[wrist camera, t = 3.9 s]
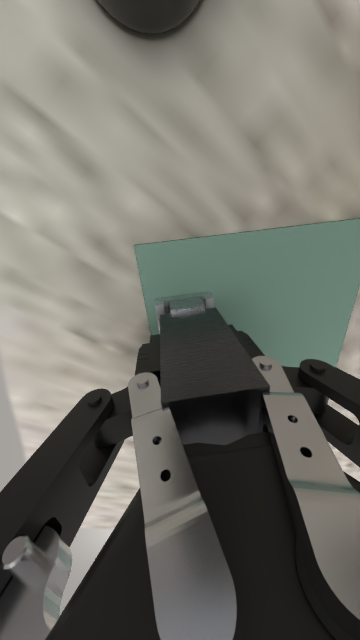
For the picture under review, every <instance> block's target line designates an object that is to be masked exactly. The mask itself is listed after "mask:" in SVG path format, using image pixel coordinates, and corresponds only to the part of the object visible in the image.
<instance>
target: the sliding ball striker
mask: <svg viewBox="0 0 360 640" xmlns="http://www.w3.org/2000/svg"><path fill="white" fill-rule="evenodd" d="M169 304H170V311H171V313H170V314H162V315H160V378H161V406H162V408H164V407H167V406H168V407H169V409H170V411H171V414H172V417H173V420H174V423H175V425H176V428H177V431H178V434H179V437H180V439H181V442H182V445H185V444H192V443H207V444H217V445H227V444H230V443H232V442H234V441H236V440H238V439H240V438H243V437H245V436H247V435H249V434H254V433H257V432H258V422H259V412H260V402H261V392H270V385H269V384H268V382H267V381H266V379H265V378H264V376H263V375H262V374H261V372H260V371H259V369H258V368H257V366H256V365H255V363H254V362H253V361H252V359H251V358H250V356H249V355H248V353H247V352H246V350H245V349H244V348H243V346H242V345H241V343H240V342H239V340H238V339H237V337H236V336H235V334H234V333H233V332H232V330H231V329H230V327H229V326H228V324H227V323H226V321H225V320H224V319H223V317H222V316H221V314H220V313H219V311H218V310H217V308H216V307H215V308H207V309H205V305H204V304H203V302H202V300H201V298H200V296H194V297H187V298H179V299H172V300H169Z"/></svg>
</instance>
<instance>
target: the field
mask: <svg viewBox="0 0 360 640" xmlns="http://www.w3.org/2000/svg"><path fill="white" fill-rule="evenodd" d="M134 248H135V253H136V259H137V264H138V269H139V274H140V279H141V285H142V290H143V295H144V300H145V306H146V311H147V316H148V321H149V326H150V332H151V335H155V334H160V333H159V327H158V322H157V316H156V310H155V304H154V299H155V298H161V297H168V296H176V295H184V294H191V293H199V292H207V291H210V292H211V293H212V295H213V298H214V308H215V307H216V308H217V310H218V311H219V313H220V314H221V316H222V317H223V319H224V320H225V321H226V323H227V324H228V325H230V324H232V325H233V326H234V328H235V329H236V330H237V331H243V332H245V333H246V334H248V335H249V336H250V338H251V339H252V340H253V341H254V343H255V344H256V345H257V346H258V348H259V349H260V350H261V351H262V352H263V354H264V355H265V356H268V357H272V358H274V359H276V360H277V361H278V362H279V363H280V364H281V366H286V367H299V366H300V362H301V361H303V360H305V359H317V360H321V361H324V362H326V363H328V364H330V365H332V366H334V367H336V365H337V362H338V358H339V355H340V351H341V348H342V344H343V341H344V338H345V334H346V331H347V327H348V324H349V320H350V317H351V313H352V310H353V307H354V303H355V300H356V296H357V293H358V289H359V286H360V218H358V219H350V220H341V221H333V222H325V223H316V224H308V225H299V226H291V227H283V228H274V229H266V230H257V231H249V232H241V233H232V234H224V235H215V236H207V237H198V238H190V239H182V240H173V241H165V242H156V243H148V244H140V245H134Z"/></svg>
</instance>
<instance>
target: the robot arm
mask: <svg viewBox="0 0 360 640" xmlns="http://www.w3.org/2000/svg"><path fill="white" fill-rule="evenodd" d="M228 326H229V327H230V329H231V330H232V332H233V333H234V334H235V336H236V337H237V339H238V340H239V342H240V343H241V345H242V346H243V348H244V349H245V350H246V352H247V353H248V355H249V356H250V358H251V359H252V361H253V362H254V363H255V365H256V366H257V368H258V369H259V371H260V372H261V374H262V375H263V376H264V378H265V379H266V381H267V382H268V384H269V385H270V392H261V402H260V412H259V422H258V432H257V433H254V434H249V435H247V436H245V437H243V438H240V439H238V440H236V441H234V442H232V443H230V444H227V445H217V444H207V443H192V444H185V445H182V442H181V439H180V437H179V434H178V431H177V428H176V425H175V423H174V420H173V417H172V414H171V411H170V409H169V407H168V406H167V407H164V408H162V406H161V378H160V334H155V335H151V336H150V343H147V344H143V345H142V346H141V347H140V349H139V352H138V358H137V365H136V371H135V376H134V377H133V378H131V380H130V381H129V383H128V387H127V388H125V389H123V390H121V391H119V392H116V393H113V394H111V393H110V392H109V391H108V390H106V389H96V390H93V391H91V392H89V393H87V394H86V395H85V396H84V397H83V398H82V399H81V400H80V401H79V402H78V403H77V404H76V406H75V407H74V408H73V409H72V410H71V411H70V412H69V414H68V415H67V416H66V417H65V418H64V419H63V421H62V422H61V423H60V424H59V425H58V426H57V427H56V429H55V430H54V431H53V432H52V433H51V434H50V436H49V437H48V438H47V439H46V440H45V441H44V442H43V444H42V445H41V446H40V447H39V448H38V449H37V451H36V452H35V453H34V454H33V455H32V456H31V457H30V459H29V460H28V461H27V462H26V463H25V464H24V466H23V467H22V468H21V469H20V470H19V471H18V472H17V474H16V475H15V476H14V477H13V478H12V479H11V480H10V482H9V483H8V484H7V485H6V486H5V487H4V489H3V490H2V491H1V492H0V640H360V482H359V481H357V480H356V479H354V478H353V477H351V476H350V475H348V474H347V473H345V472H344V471H343V470H342V468H341V466H340V464H339V463H338V461H337V459H336V457H335V455H334V453H333V451H332V449H331V447H330V445H329V443H330V444H332V445H333V446H334V447H335V448H337V449H338V450H339V451H340V452H342V453H343V454H344V455H345V456H346V457H348V458H349V459H350V460H351V461H353V462H354V463H355V464H356V465H357V466H359V467H360V425H357V424H356V423H354V422H353V421H351V420H350V419H348V418H347V417H345V416H344V415H342V414H341V413H339V412H338V411H336V410H335V409H333V408H332V407H330V406H329V405H327V403H328V399H329V398H330V399H331V400H333V401H334V402H336V403H337V404H339V405H341V406H342V407H344V408H345V409H347V410H348V411H350V412H351V413H353V414H354V415H355V416H356V417H357V419H358V420H359V423H360V379H358V378H356V377H354V376H352V375H350V374H348V373H346V372H344V371H342V370H340V369H338V368H336V367H334V366H332V365H330V364H328V363H326V362H324V361H321V360H317V359H305V360H303V361H301V362H300V366H299V367H286V366H281V364H280V363H279V362H278V361H277V360H276V359H274V358H272V357H268V356H265V355H264V354H263V352H262V351H261V350H260V349H259V348H258V346H257V345H256V344H255V343H254V341H253V340H252V339H251V338H250V336H249V335H248V334H246V333H245V332H243V331H237V330H236V329H235V328H234V326H233V325H232V324H230V325H228ZM131 436H133V439H134V446H135V453H136V461H137V468H138V476H139V483H140V488H139V490H138V492H137V493H136V495H135V496H134V498H133V500H132V501H131V503H130V504H129V506H128V508H127V509H126V511H125V513H124V514H123V516H122V517H121V519H120V521H119V522H118V524H117V525H116V527H115V529H114V530H113V532H112V533H111V535H110V537H109V538H108V540H107V541H106V543H105V545H104V546H103V548H102V550H101V551H100V553H99V554H98V556H97V558H96V559H95V561H94V562H93V564H92V566H91V567H90V569H89V571H88V572H87V574H86V575H85V577H84V578H83V580H82V582H81V583H80V585H79V586H78V588H77V590H76V591H75V593H74V594H73V596H72V598H71V599H70V601H69V603H68V604H67V606H66V607H65V609H64V610H63V612H62V614H61V615H60V617H59V612H60V603H61V598H62V595H63V591H64V589H65V586H66V583H67V581H68V578H69V575H70V571H71V565H72V555H71V551H70V548H69V547H70V545H71V543H72V541H73V539H74V537H75V535H76V533H77V532H78V530H79V528H80V526H81V524H82V522H83V520H84V518H85V516H86V514H87V512H88V510H89V508H90V506H91V505H92V503H93V501H94V499H95V497H96V495H97V493H98V491H99V489H100V487H101V485H102V483H103V481H104V479H105V477H106V475H107V473H108V472H109V470H110V468H111V466H112V464H113V462H114V460H115V458H116V456H117V454H118V452H119V450H120V448H121V446H122V444H123V442H124V439H126V438H128V437H131ZM328 442H329V443H328Z"/></svg>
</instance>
